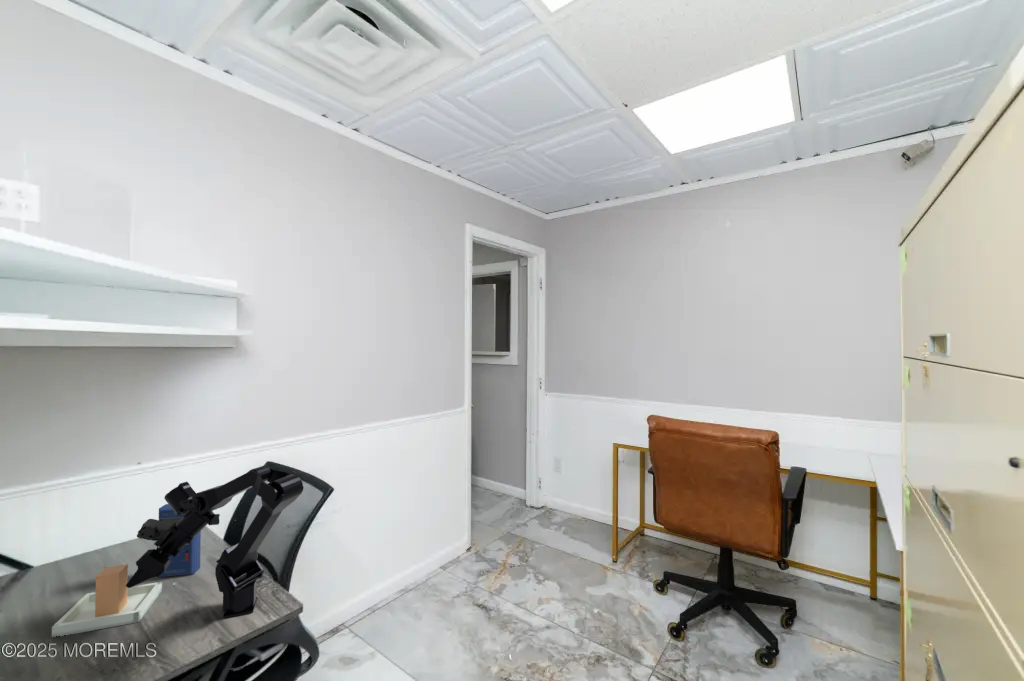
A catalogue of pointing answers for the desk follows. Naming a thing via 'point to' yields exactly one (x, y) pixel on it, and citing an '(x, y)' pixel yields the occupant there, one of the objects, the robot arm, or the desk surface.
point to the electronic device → (188, 555)
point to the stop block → (111, 590)
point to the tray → (85, 620)
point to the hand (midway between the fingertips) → (136, 577)
